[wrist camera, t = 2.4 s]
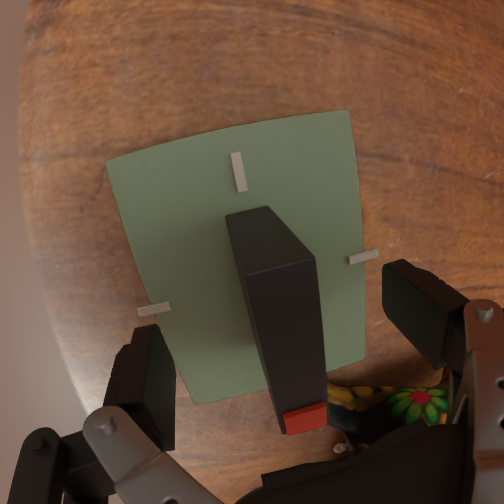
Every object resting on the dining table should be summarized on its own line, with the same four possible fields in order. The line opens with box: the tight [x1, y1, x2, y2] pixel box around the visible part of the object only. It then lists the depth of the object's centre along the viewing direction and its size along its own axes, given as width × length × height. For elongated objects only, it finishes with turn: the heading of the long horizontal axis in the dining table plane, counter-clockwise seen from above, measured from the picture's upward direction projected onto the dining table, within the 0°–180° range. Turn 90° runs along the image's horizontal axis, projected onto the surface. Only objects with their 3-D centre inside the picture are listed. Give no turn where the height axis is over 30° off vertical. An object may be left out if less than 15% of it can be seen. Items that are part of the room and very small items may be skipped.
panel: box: [105, 109, 378, 405], centre depth 14 cm, size 12×10×3 cm
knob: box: [225, 206, 329, 436], centre depth 10 cm, size 6×2×5 cm, turn 11°
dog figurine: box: [327, 365, 451, 458], centre depth 18 cm, size 20×12×18 cm
